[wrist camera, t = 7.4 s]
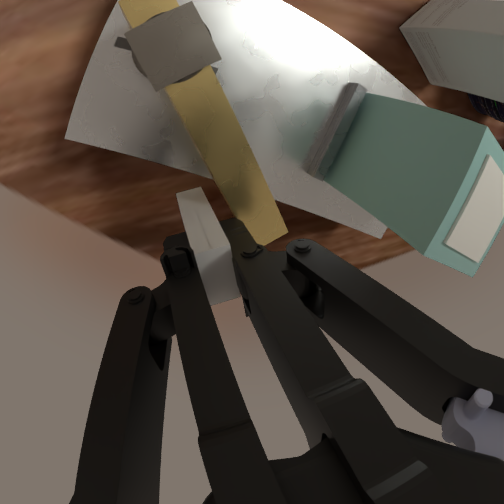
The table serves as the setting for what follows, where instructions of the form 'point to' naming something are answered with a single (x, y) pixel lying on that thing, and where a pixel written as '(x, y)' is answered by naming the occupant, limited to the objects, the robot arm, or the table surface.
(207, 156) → the hammer with yellow handle
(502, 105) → the storage jar
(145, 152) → the white base platform
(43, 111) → the table surface
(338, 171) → the mint green box
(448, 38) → the supplement box
